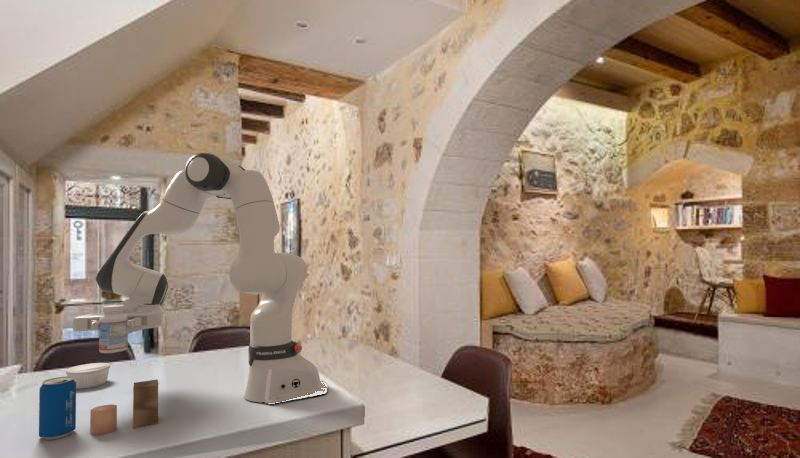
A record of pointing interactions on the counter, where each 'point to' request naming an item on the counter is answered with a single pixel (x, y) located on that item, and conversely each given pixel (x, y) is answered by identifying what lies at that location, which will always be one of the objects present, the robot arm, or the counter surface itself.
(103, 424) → the peach rounded block
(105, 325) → the pill bottle
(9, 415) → the counter surface
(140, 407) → the walnut block
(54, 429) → the beverage can
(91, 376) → the ramekin
